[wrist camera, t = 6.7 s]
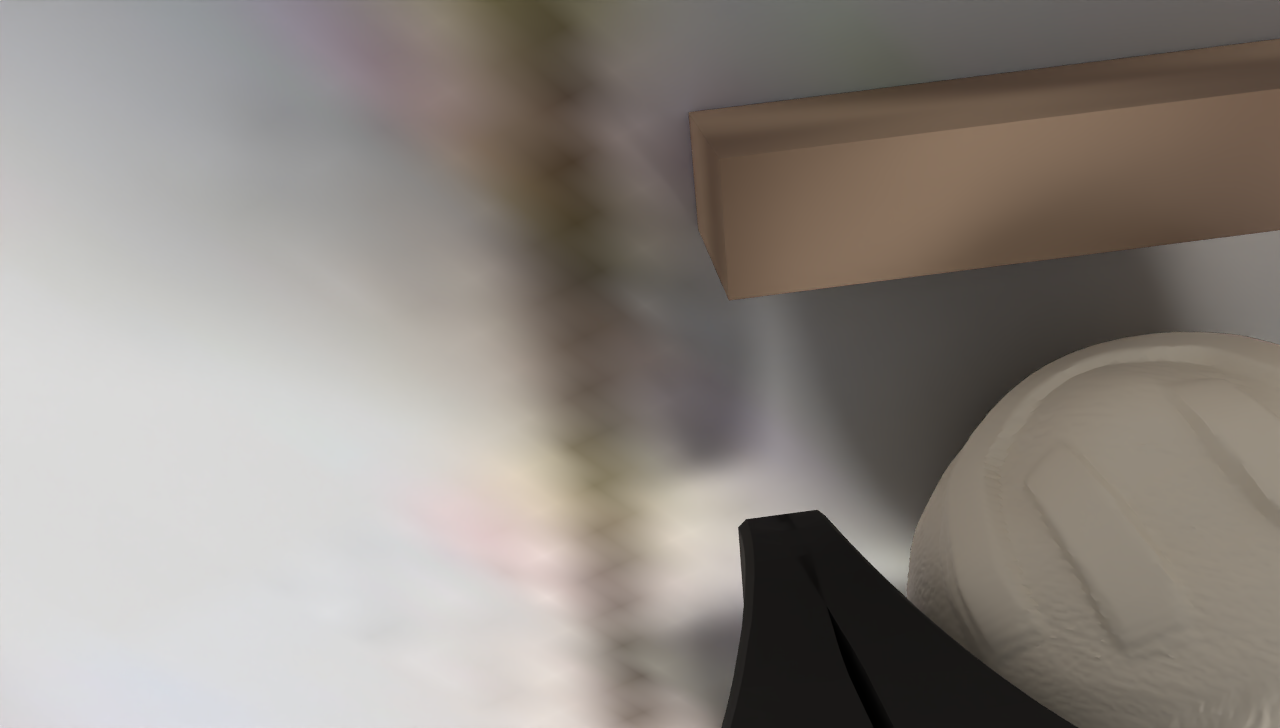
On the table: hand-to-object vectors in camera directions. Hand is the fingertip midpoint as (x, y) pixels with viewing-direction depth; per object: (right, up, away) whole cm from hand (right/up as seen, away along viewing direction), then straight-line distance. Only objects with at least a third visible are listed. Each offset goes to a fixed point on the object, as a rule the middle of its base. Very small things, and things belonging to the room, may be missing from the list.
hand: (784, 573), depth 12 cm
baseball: (+4, +1, +2) cm, 5 cm away
